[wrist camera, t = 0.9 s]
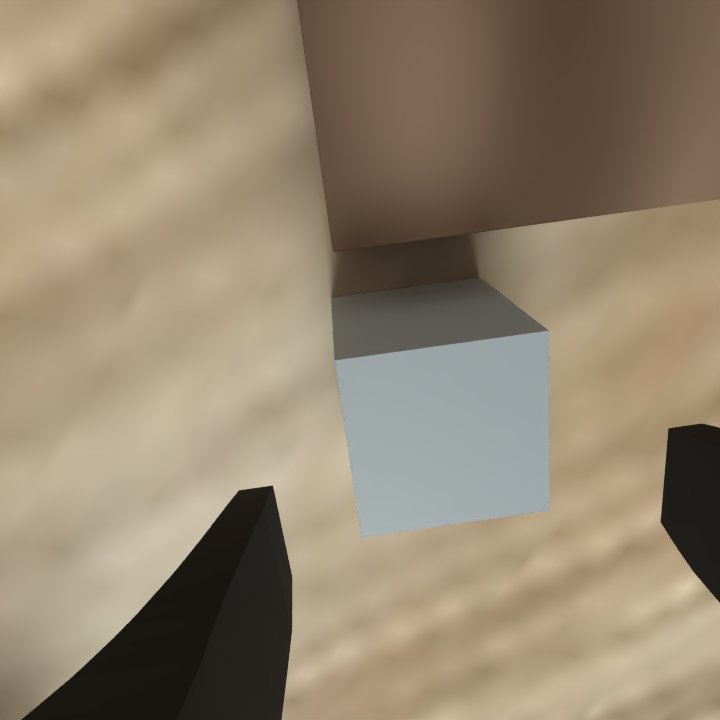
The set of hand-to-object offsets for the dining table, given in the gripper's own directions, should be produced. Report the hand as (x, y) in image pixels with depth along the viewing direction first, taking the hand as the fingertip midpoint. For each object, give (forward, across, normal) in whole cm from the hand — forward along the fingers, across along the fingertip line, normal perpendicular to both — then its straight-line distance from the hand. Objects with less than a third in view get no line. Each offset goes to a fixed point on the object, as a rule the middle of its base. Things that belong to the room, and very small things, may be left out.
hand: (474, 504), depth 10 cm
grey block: (+8, 0, 0) cm, 8 cm away
